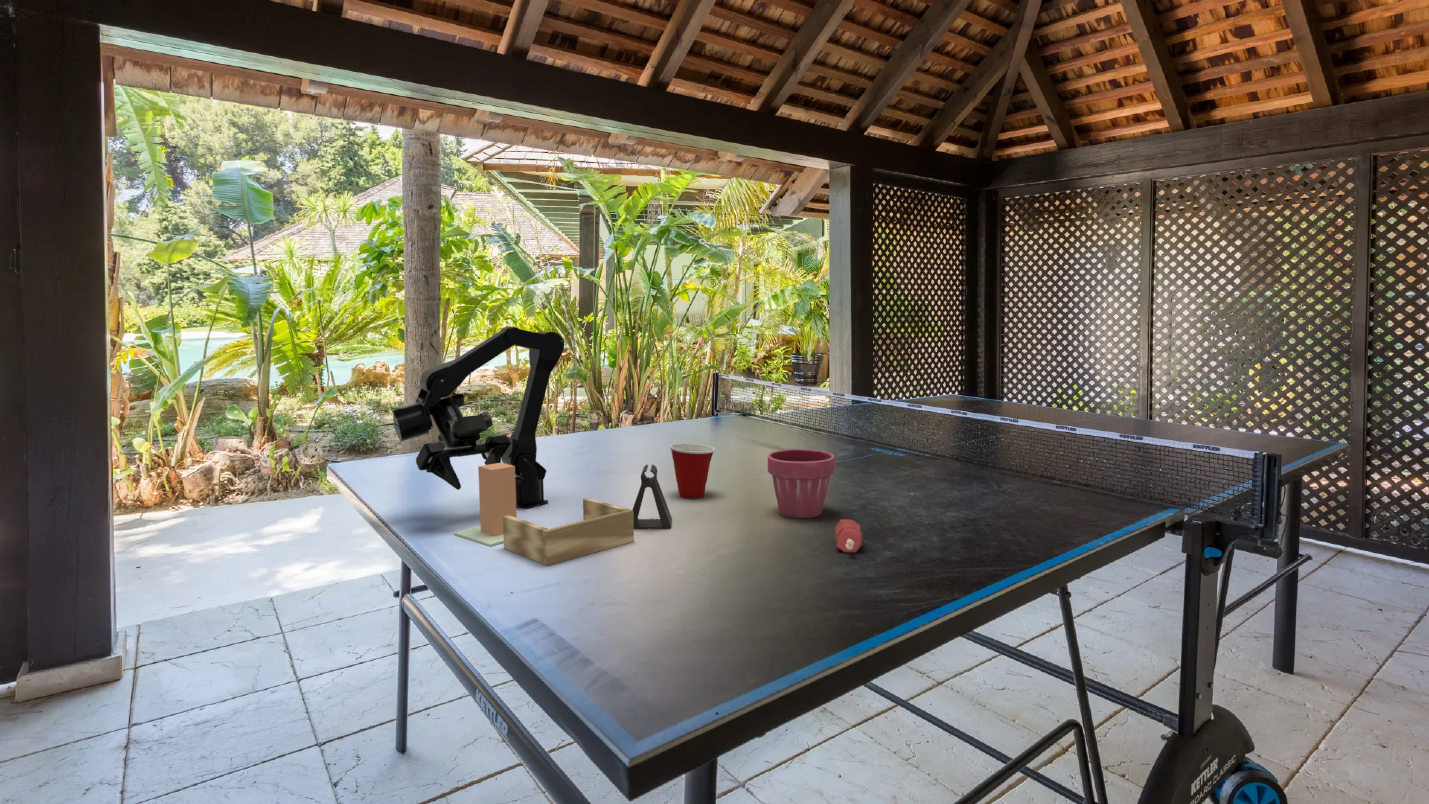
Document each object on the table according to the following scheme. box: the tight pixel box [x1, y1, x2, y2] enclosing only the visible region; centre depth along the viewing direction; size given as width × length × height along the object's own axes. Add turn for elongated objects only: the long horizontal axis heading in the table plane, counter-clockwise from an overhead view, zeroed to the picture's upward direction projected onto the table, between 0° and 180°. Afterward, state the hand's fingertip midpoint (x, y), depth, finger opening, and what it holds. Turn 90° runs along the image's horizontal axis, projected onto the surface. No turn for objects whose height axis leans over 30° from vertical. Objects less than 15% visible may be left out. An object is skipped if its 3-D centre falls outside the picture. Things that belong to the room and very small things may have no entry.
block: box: [477, 462, 518, 536], centre depth 150 cm, size 5×5×13 cm
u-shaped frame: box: [503, 497, 635, 566], centre depth 143 cm, size 14×19×6 cm
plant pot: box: [767, 448, 835, 519], centre depth 165 cm, size 14×14×13 cm
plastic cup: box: [669, 442, 716, 499], centre depth 180 cm, size 11×11×12 cm
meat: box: [834, 518, 863, 554], centre depth 141 cm, size 12×5×5 cm, turn 173°
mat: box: [453, 525, 504, 547], centre depth 151 cm, size 12×12×1 cm
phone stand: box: [631, 463, 673, 530], centre depth 156 cm, size 9×6×12 cm, turn 91°
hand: (480, 485), depth 154 cm, fingers open, 9 cm apart
